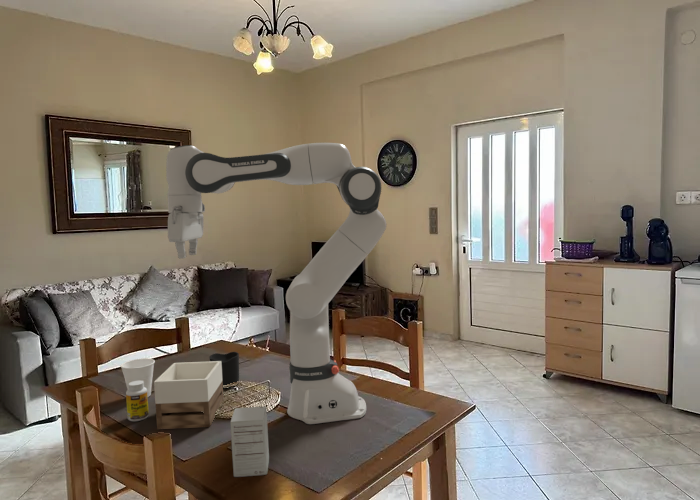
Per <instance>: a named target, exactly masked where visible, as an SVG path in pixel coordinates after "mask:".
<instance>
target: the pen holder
mask: <svg viewBox="0 0 700 500" xmlns="http://www.w3.org/2000/svg"><path fill="white" fill-rule="evenodd" d="M239 354H240V353H238V351H231V352H228V353H218V352H217V353H212V354H210V356H209V357H208V358H209V361H221V363H222V380H223V385H227V384H230V383H233V382H237V381H239V382H240V355H239Z"/></svg>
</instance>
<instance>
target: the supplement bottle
mask: <svg viewBox="0 0 700 500" xmlns="http://www.w3.org/2000/svg"><path fill="white" fill-rule="evenodd" d="M128 385H129V387H128V388H129V390H126V392H125V398H126V399H125V400H126V412H127V413H126V416H127V420H128V421H130V422H139V421H143V420H146V419H147V418H148V417H149V415H150V412H149V397H148V393H147V388H146V387H144V382H143V381H133V382H130V383H129V384H128Z"/></svg>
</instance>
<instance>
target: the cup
mask: <svg viewBox="0 0 700 500" xmlns="http://www.w3.org/2000/svg"><path fill="white" fill-rule="evenodd" d="M155 363H156V361H155V359H152V358H146V357H145V358H143V357H142V358H135V359H132V360H127V361H125V362H123V363H121V365H120V368H121V371H122V374H123V378H124V380H125V381H124V382H125V385H126V389H127V390H129V388H128V387H129V385H128V384H129V383H130V382H133V381H143V382H144V387H146V388H147V393H148V398H149V397H151V395H152V385H153V378H154V377H153V376H154V366H155ZM127 390H126V391H127Z"/></svg>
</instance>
